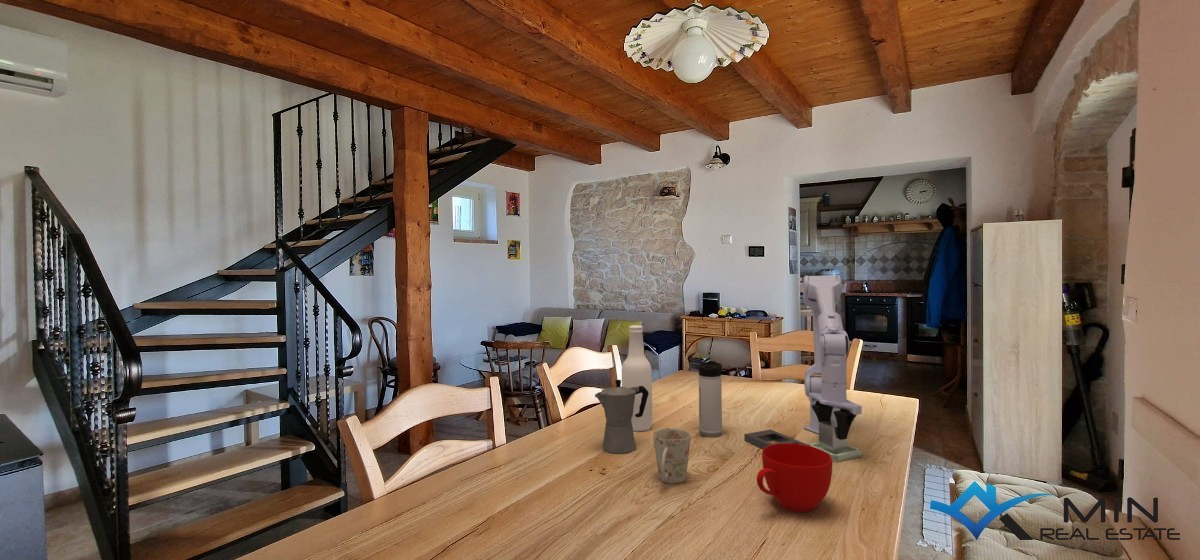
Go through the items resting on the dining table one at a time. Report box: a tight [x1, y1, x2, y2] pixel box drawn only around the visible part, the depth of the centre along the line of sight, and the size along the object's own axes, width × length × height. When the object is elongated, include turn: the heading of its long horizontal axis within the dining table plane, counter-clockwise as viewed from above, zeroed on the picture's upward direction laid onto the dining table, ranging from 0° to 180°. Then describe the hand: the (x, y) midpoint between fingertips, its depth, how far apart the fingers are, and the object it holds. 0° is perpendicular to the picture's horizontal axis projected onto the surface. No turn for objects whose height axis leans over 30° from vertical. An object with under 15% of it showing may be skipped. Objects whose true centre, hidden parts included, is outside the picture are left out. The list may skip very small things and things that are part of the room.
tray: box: [807, 441, 864, 463], centre depth 128 cm, size 9×9×2 cm
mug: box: [652, 427, 692, 484], centre depth 113 cm, size 8×13×10 cm, turn 161°
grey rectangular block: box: [818, 420, 848, 452], centre depth 128 cm, size 4×4×6 cm
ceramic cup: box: [756, 443, 833, 513], centre depth 101 cm, size 13×17×10 cm
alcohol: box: [621, 324, 653, 432], centre depth 151 cm, size 9×9×30 cm
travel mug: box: [698, 360, 723, 438], centre depth 145 cm, size 6×7×20 cm
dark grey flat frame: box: [743, 429, 829, 454], centre depth 131 cm, size 20×9×2 cm, turn 23°
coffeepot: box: [594, 379, 649, 455], centre depth 135 cm, size 15×9×18 cm, turn 113°
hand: (834, 435), depth 128 cm, fingers closed on grey rectangular block, 5 cm apart
